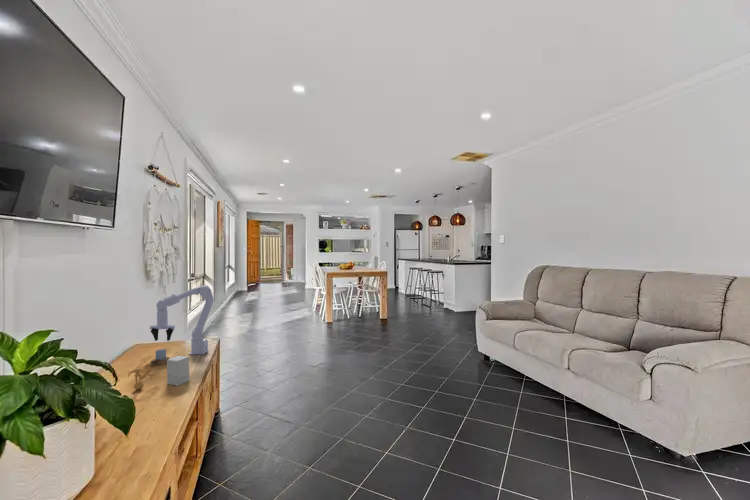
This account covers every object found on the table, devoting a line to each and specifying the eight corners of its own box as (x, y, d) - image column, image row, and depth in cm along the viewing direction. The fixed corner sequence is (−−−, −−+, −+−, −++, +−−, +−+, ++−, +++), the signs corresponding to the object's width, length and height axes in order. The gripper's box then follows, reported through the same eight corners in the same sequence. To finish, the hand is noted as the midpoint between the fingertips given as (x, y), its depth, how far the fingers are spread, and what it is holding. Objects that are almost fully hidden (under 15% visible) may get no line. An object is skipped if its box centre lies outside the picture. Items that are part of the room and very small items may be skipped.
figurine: (149, 386, 178) (149, 363, 178) (147, 391, 172) (146, 366, 172) (129, 389, 175) (129, 365, 174) (126, 394, 169) (126, 369, 169)
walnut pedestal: (169, 361, 217) (169, 357, 217) (163, 365, 210) (163, 360, 210) (157, 362, 216) (157, 357, 216) (150, 366, 209) (150, 360, 209)
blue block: (166, 357, 216) (166, 349, 216) (162, 359, 212) (162, 351, 212) (159, 357, 216) (159, 349, 216) (155, 359, 212) (155, 351, 212)
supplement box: (189, 380, 186) (189, 356, 186) (177, 386, 179) (177, 361, 179) (178, 379, 188) (178, 355, 188) (166, 384, 181) (166, 359, 181)
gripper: (146, 320, 221) (146, 342, 221) (170, 320, 221) (170, 342, 221) (153, 317, 228) (153, 339, 228) (176, 317, 228) (176, 339, 228)
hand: (162, 340), depth 225 cm, fingers open, 7 cm apart
